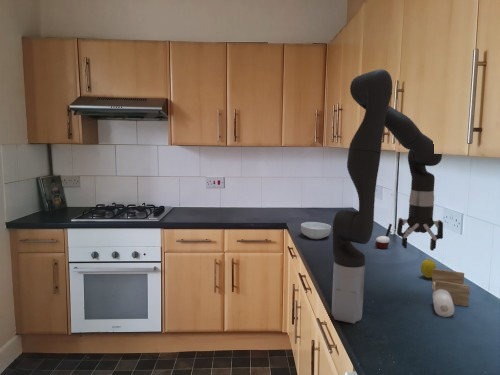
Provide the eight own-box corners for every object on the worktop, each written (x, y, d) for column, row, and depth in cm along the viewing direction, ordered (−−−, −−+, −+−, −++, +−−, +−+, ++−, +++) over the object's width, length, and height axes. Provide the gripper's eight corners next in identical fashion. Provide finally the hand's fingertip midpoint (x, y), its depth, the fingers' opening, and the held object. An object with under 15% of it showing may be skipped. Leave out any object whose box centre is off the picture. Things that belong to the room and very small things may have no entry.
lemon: (437, 281, 140) (439, 261, 139) (422, 280, 141) (423, 260, 140) (432, 276, 146) (434, 257, 144) (418, 275, 146) (419, 256, 145)
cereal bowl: (322, 243, 189) (322, 230, 188) (294, 238, 199) (295, 225, 198) (335, 236, 203) (336, 224, 202) (309, 231, 213) (309, 220, 212)
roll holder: (467, 306, 119) (469, 286, 118) (434, 300, 123) (435, 281, 122) (462, 291, 131) (463, 272, 130) (431, 286, 135) (433, 268, 134)
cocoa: (376, 250, 180) (377, 227, 177) (371, 246, 186) (372, 224, 184) (394, 249, 180) (395, 226, 178) (389, 245, 186) (390, 223, 184)
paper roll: (444, 320, 112) (458, 310, 110) (430, 307, 113) (444, 296, 111) (441, 308, 120) (455, 298, 118) (428, 295, 122) (441, 285, 120)
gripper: (400, 204, 121) (397, 250, 123) (447, 206, 117) (443, 254, 119) (397, 200, 128) (395, 244, 130) (441, 202, 124) (438, 247, 126)
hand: (418, 248), depth 125 cm, fingers open, 8 cm apart
